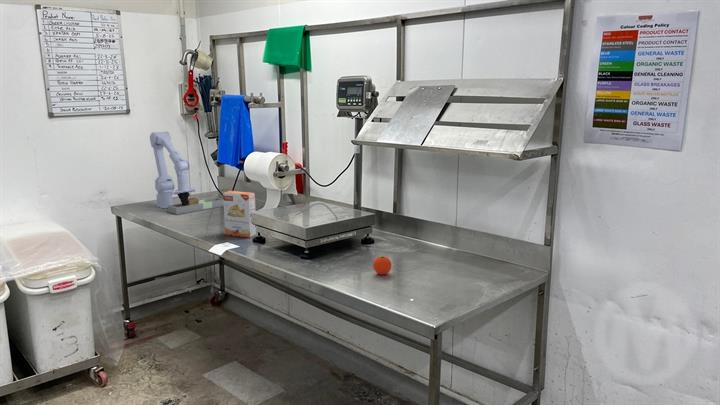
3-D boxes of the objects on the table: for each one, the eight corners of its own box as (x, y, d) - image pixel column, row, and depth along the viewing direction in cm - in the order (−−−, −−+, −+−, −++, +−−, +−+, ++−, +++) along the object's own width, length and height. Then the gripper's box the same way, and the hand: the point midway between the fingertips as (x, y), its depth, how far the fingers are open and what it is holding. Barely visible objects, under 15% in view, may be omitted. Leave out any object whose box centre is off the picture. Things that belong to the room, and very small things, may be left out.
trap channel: (166, 211, 296) (166, 205, 296) (215, 203, 320) (215, 197, 319) (177, 215, 289) (177, 208, 288) (226, 206, 312) (226, 199, 312)
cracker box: (224, 235, 248) (222, 192, 244) (231, 232, 254) (229, 190, 250) (250, 238, 244) (248, 194, 239) (256, 235, 249) (255, 192, 245)
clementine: (372, 270, 201) (372, 252, 199) (390, 270, 201) (390, 252, 200) (373, 277, 193) (373, 259, 191) (392, 277, 193) (392, 258, 192)
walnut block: (184, 206, 301) (184, 199, 300) (194, 204, 305) (193, 197, 304) (189, 207, 298) (189, 200, 297) (199, 205, 302) (198, 198, 301)
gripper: (174, 184, 287) (176, 208, 290) (198, 181, 298) (199, 204, 300) (168, 183, 291) (169, 206, 294) (191, 180, 302) (192, 202, 305)
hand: (184, 205), depth 298 cm, fingers closed
